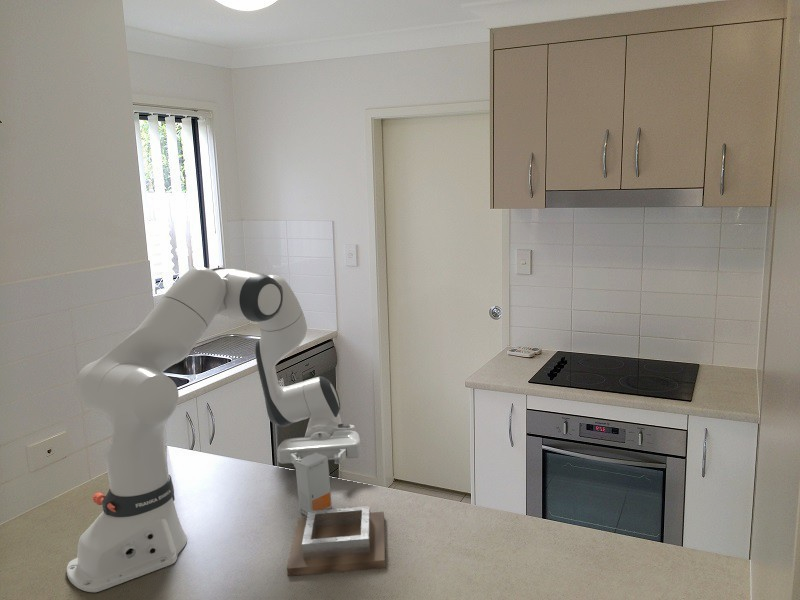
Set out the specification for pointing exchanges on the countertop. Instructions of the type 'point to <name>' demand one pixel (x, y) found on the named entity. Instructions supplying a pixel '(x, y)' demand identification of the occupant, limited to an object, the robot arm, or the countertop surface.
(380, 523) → the socket board
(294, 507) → the countertop surface
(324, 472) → the skincare box
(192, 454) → the countertop surface
